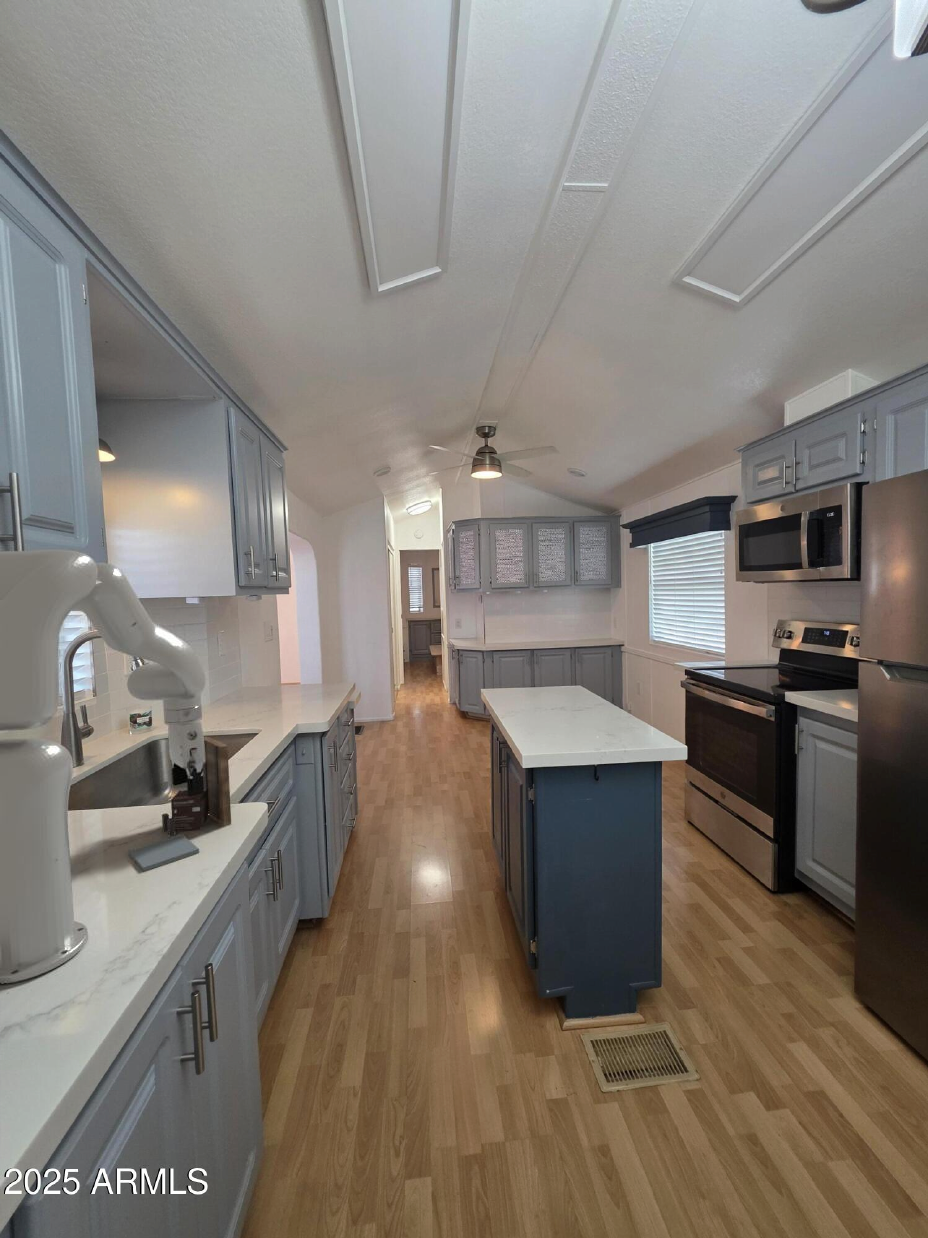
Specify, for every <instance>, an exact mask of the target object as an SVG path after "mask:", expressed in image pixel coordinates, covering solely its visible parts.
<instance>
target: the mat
mask: <svg viewBox="0 0 928 1238" xmlns="http://www.w3.org/2000/svg"><path fill="white" fill-rule="evenodd" d="M199 853H200V848H198V846H196V845H195V844H194V842H192V841H191V840H190V839H188V838H187V837H186V836H185V835H183V834H182V833H181V834H178V835H174V836H171V837H168V838H165V839H162V840H159V841H155V842H153V843H150V844H146V845H142V846H139V847H137V848H133V849H130V850H128V856H129V857H130V858H131V859H132V860H133V862H134V863H135V864H136V865H137V866H138V868H140V870H142V872H147V871H151V870H153V869H155V868H159V867H162V866H164V865H167V864H171V863H173V862H177V861H179V860H181V859H185V858H188V857H191V856H194V855H196V854H199Z"/></svg>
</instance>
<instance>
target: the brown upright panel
mask: <svg viewBox="0 0 928 1238" xmlns="http://www.w3.org/2000/svg"><path fill="white" fill-rule="evenodd" d="M203 737H204V744H205V753H206V763H205V764H203V766H202V767H203V783H204V789H207V808H208V814H209V815H210V816H209V815H208V816H209V817H211V818H212V819H213V818H214V821H216V822H218V823H219V824H220V825H222V826H223V827H226V826H229V825H232V812H231V809H232V808H231V807H232V806H231V790H230V789H231V788H230V786H231V785H230V769H229V768H230V767H229V765H230V764H229V749H228V748H229V747H228V746H229V745H227V744H225V743H223V742H221V741H219V740H216V739H214V738H211V737H209V736H203ZM161 823H162V824H161V825H162V826H161V827H162V831H163V832H164V833H166V832H167V835H168V837H169V838H171V837H174V836H176V832H175V824H174V819H173V818H172V817H171V818H170V815H169V813H167V812H166V813H163V814H161Z"/></svg>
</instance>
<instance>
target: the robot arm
mask: <svg viewBox="0 0 928 1238" xmlns="http://www.w3.org/2000/svg"><path fill="white" fill-rule="evenodd" d="M71 612H82V613H84V614H85V616H86V617H87V618H88V620H89V621H90V623H91V624H92V627H94V628H95V630H96V631H97V633H98V634H99V635H100V637H101V639H102V640H103V641H104V643H105V644H106V645H107V646H108V648H110V649H112V650H114V651H116V652H119V653H122V654H125V655H127V656H132V657H134V658H138V659H142V660H147V661H150V662H153V663H150V664H149V663H147V664H143V665H139V666H138V667H136V668H135V669H134V670H132V672H131V673H130V674H129V676H128V678H127V682H126V683H127V684H126V685H127V690H128V693H129V694H130V695H131V696H132V697H133V698H136V699H137V700H140V701H141V700H142V701H162V707H163V721H164V723H163V724H165V725H167V727H168V728H167V729H168V731H167V732H168V733H167V734H168V737H167V738H168V752H169V753H168V754H169V759H170V760H171V763H170V765H171V777H172V778H171V779H172V785H173V786H175V787H176V786H179V785H183V784H186V788H187V789H186V790H187V791H188V796H189V797H192V796H195V795H199V794H202V793H204V783H203V767H202V766H203V764H205V763H206V753H205V744H204V737H205V736H204V732H203V731H204V730H203V728H202V723H201V721H202V720H203V712H202V711H203V710H202V709H203V708H202V696H201V694H202V693H203V691H204V690H205V687H206V681H207V678H206V674H205V671H204V668H203V665H202V663H201V662H200V659H199V658H198V656H197V654H196V652H195V650H194V649H193V648H192V647H191V645H189V644H188V643H187V642H186V641H185V640H183V639H182V638H181V637H179V636H177V635H175V634H174V633H172V632H171V631H169V630H167V629H166V628H164V627H162V626H161V625H159V624H156V623H155V622H153V620H152V619H151V618H150V616H149V614H148V612H147V611H146V609H145V607H144V605H143V604H142V603H141V601H140V599H139V596H138V595H137V594H136V592H135V591H134V589H133V587H132V585H131V583H130V582H129V580H128V578H127V576H126V575H125V574H124V572H123V571H122V570H121V569H120V568H119V567H117V566H116V565H114V564H110V563H107V562H96V561H95V560H94V559H93V558H92V557H91V556H90V555H88V554H87V553H84V552H80V551H76V550H70V549H67V550H66V549H39V550H37V549H35V550H12V551H9V550H8V551H0V732H5V731H6V732H8V731H22V730H23V731H24V730H32V729H38V728H41V727H43V726H45V725H47V724H48V723H50V722H51V721H52V720H53V719H54V718H55V716H56V715H57V712H58V709H59V701H60V700H59V699H60V667H59V666H60V663H59V662H60V661H59V659H60V658H59V657H60V656H59V655H60V654H59V653H60V652H59V648H60V647H59V645H60V644H59V643H60V633H61V629H62V626H63V624H64V622H65V620H66V619H67V617H68V616H69V614H70V613H71ZM73 761H74V760H73V757H72V755H71V753H70V752H69V750H68V749H67V747H65V746H64V745H62V744H61V743H58V742H56V741H53V740H49V739H42V738H11V739H10V738H7V739H6V738H5V739H4V738H3V739H0V983H1V984H0V985H2V984H4V983H6V984H10V983H17V982H21V981H25V980H29V979H30V978H31V979H32V978H35V977H37V976H40V975H42V974H45V973H47V972H49V971H52V970H53V969H55V968H57V967H59V966H61V965H62V964H64V963H66V962H67V961H69V960H70V959H72V958H73V957H75V956H76V954H78V953H79V952H80V951H81V950H82V949H83V948H84V946H85V945H86V943H87V941H88V938H89V937H88V936H89V935H88V927H87V925H85V924H83V923H82V922H79V921H75V915H74V914H75V912H74V896H73V884H72V883H73V882H72V881H73V880H72V868H71V864H72V863H71V852H70V850H71V849H70V838H69V837H70V836H69V818H68V817H69V815H68V813H69V811H68V810H69V797H70V789H71V786H72V785H71V784H72V778H73V773H74V772H73V771H74V762H73Z"/></svg>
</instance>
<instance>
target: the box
mask: <svg viewBox="0 0 928 1238" xmlns="http://www.w3.org/2000/svg"><path fill="white" fill-rule="evenodd" d="M170 804H171V805H170V806H171V807H170V808H171V818H173V819H174V824H175V833H177V832H188V831H196V830H197V829H199V830H202V829H203V827H204V826H205V823H206V822H207V821H208V816H209V815H208V808H207V789H204V793H202V794H199V795H195V796H192V797H189V796H188V791H187V789H183V790H178V792H177V793H176V794H175V795H174V796H173V798H172V799H170ZM206 820H207V821H206ZM202 826H203V827H202Z"/></svg>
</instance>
